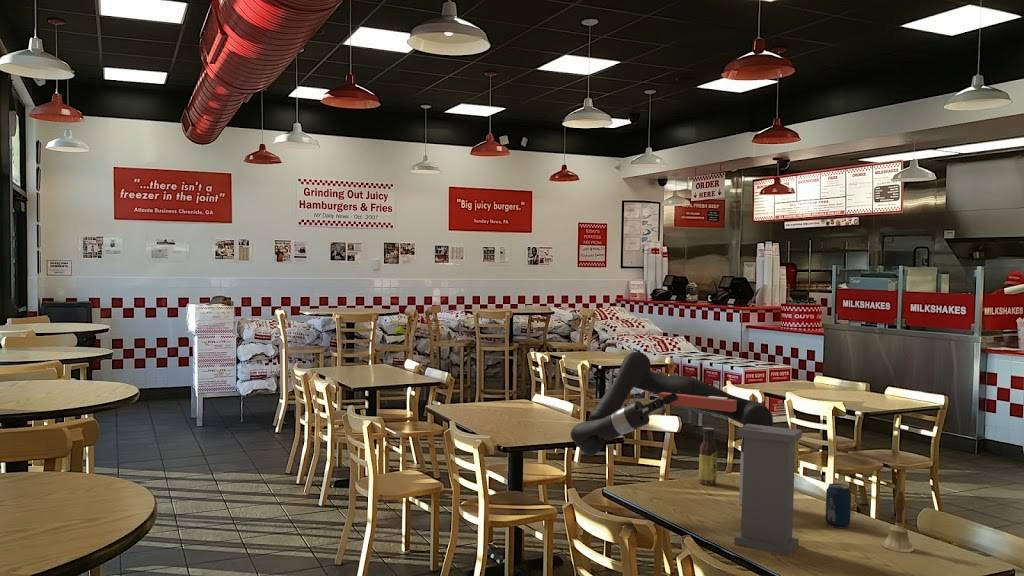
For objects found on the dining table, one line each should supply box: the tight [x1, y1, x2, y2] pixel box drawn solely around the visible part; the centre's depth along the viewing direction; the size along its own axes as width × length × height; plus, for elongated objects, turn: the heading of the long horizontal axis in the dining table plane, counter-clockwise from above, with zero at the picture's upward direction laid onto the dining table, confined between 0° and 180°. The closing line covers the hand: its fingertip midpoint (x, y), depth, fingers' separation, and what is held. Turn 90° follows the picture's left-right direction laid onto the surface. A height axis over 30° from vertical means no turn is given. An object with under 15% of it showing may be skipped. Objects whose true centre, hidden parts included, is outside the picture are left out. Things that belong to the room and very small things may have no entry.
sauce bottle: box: [698, 427, 718, 486], centre depth 291 cm, size 7×6×20 cm
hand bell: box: [881, 489, 913, 550], centre depth 225 cm, size 8×8×16 cm
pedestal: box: [733, 424, 803, 556], centre depth 224 cm, size 15×10×32 cm, turn 59°
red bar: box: [658, 392, 737, 412], centre depth 234 cm, size 22×4×3 cm, turn 59°
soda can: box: [824, 483, 852, 529], centre depth 244 cm, size 7×7×12 cm
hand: (678, 394), depth 237 cm, fingers closed on red bar, 3 cm apart
